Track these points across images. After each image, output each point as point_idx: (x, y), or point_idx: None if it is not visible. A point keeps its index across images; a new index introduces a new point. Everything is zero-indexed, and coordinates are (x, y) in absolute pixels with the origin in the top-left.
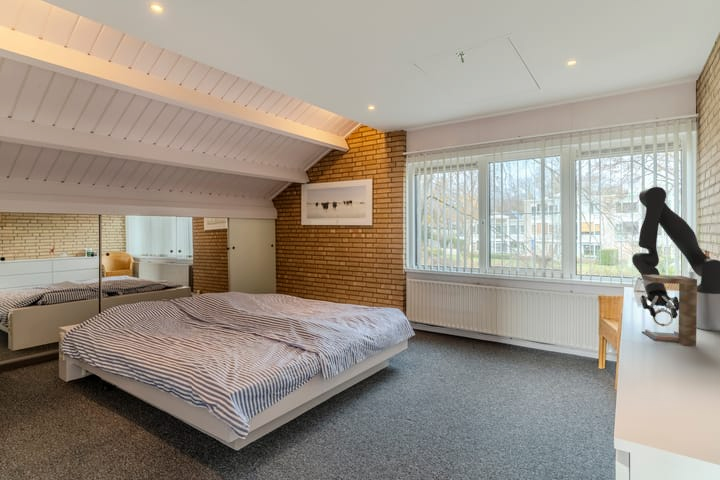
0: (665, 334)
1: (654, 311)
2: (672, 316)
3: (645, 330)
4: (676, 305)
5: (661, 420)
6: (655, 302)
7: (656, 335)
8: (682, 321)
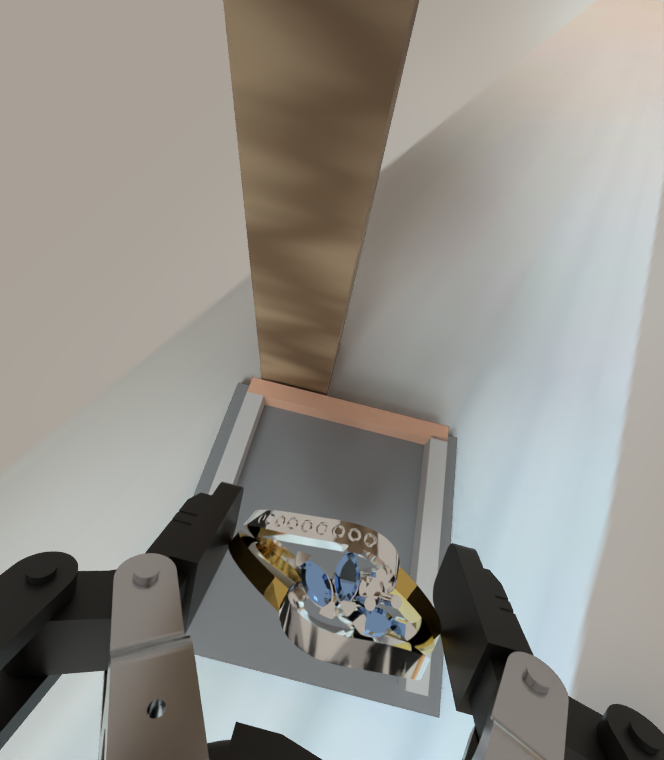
0: None
1: (474, 579)
2: (256, 511)
3: (425, 683)
4: (43, 613)
5: (643, 24)
6: (489, 741)
7: (441, 447)
8: (358, 259)
